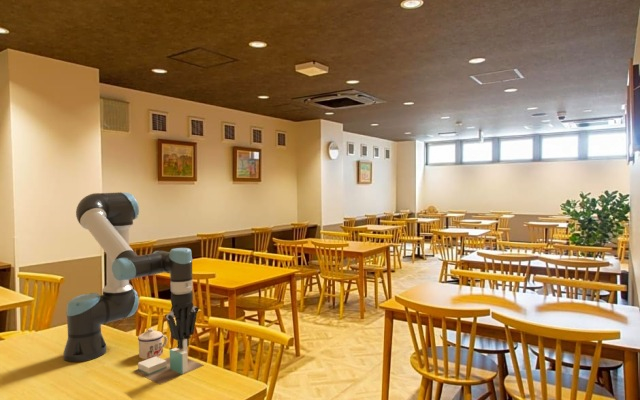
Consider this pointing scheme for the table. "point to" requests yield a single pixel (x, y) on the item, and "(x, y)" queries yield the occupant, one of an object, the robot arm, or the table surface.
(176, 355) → the tile
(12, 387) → the table surface
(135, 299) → the robot arm
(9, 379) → the table surface
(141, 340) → the teacup with lid
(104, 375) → the table surface
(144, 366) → the tile
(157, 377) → the walnut board
